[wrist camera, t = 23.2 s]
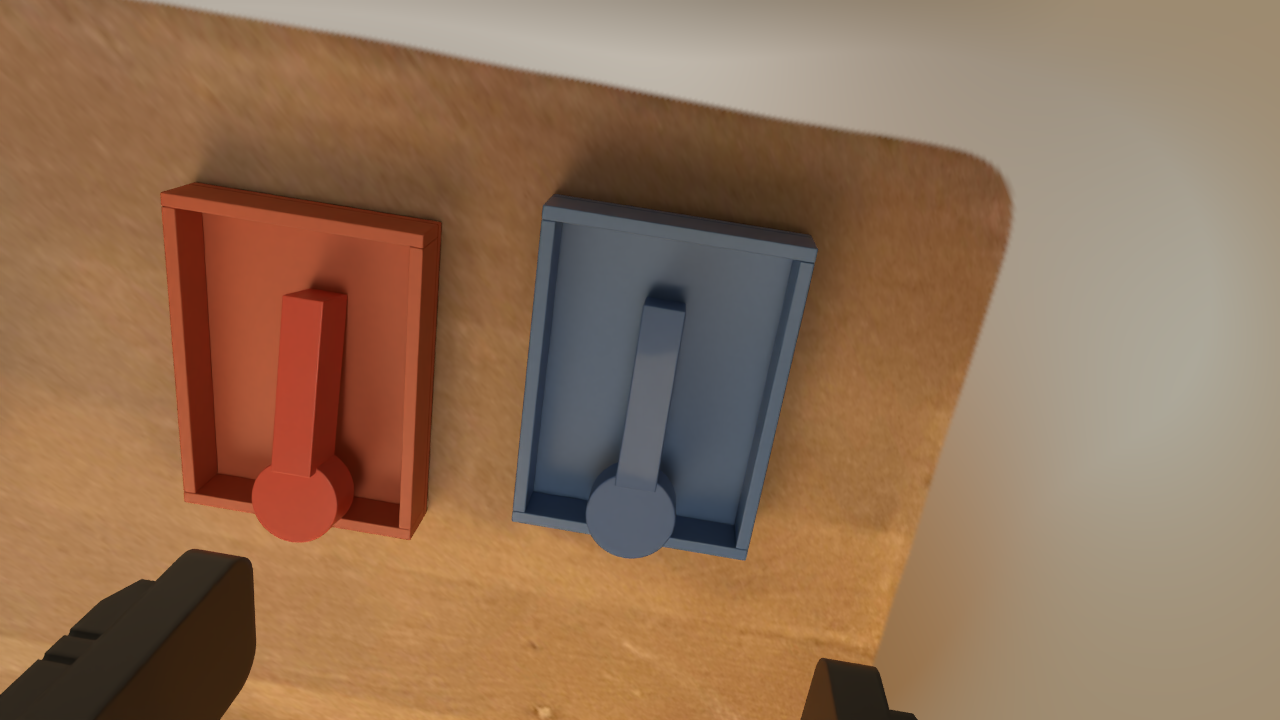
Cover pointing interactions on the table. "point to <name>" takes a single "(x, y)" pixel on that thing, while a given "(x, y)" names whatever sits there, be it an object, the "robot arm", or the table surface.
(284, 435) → the red spoon
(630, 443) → the blue spoon
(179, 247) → the red tray
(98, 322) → the table surface
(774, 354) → the blue tray
